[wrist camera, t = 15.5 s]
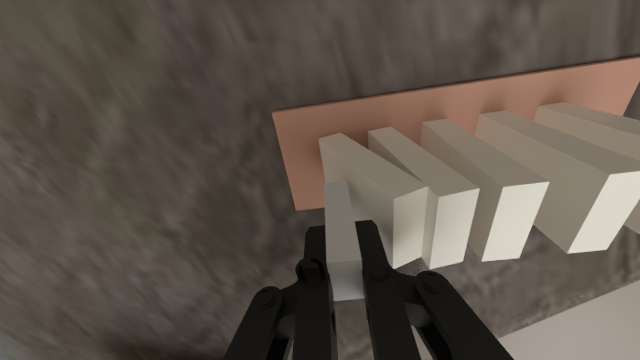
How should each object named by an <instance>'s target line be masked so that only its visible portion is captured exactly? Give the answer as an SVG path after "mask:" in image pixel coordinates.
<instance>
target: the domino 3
mask: <svg viewBox="0 0 640 360" xmlns="http://www.w3.org/2000/svg"><path fill="white" fill-rule="evenodd" d="M420 147H421V148H423V149H424V150H426V151H427V152H429V153H430V154H431V155H433V156H434V157H436V158H437V159H439V160H440V161H442V162H443V163H444V164H446V165H447V166H449V167H450V168H452V169H453V170H455V171H456V172H457V173H459V174H460V175H462V176H463V177H465V178H466V179H467V180H469V181H470V182H472V183H473V184H475V185H476V186H478V187H479V188H480V190H479V194H478V199H477V203H476V207H475V211H474V216H473V220H472V224H471V229H470V233H469V237H468V241H467V242H468V244H469V245H470V247H471V248H472V249H473V251H474V252H475V253H476V255H477V256H478V258H479V259H480V260H481V262H483V261H493V260H504V259H514V258H519V257H520V254H521V252H522V249H523V247H524V244H525V242H526V239H527V237H528V234H529V232H530V229H531V227H532V225H533V222H534V220H535V217H536V215H537V212H538V210H539V207H540V205H541V202H542V200H543V197H544V195H545V192H546V190H547V187H548V185H549V183H550V181H548V180H547V179H545V178H543V177H542V176H540V175H538V174H537V173H535V172H533V171H532V170H530V169H529V168H527V167H525V166H524V165H522V164H520V163H519V162H517V161H515V160H514V159H512V158H511V157H509V156H507V155H506V154H504V153H502V152H501V151H499V150H498V149H496V148H494V147H493V146H491V145H489V144H488V143H486V142H484V141H483V140H481V139H480V138H478V137H476V136H475V135H473V134H471V133H470V132H468V131H466V130H465V129H463V128H462V127H460V126H458V125H457V124H455V123H453V122H452V121H450V120H449V119H440V120H433V121H425V122H422V126H421V139H420Z"/></svg>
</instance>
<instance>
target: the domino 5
mask: <svg viewBox="0 0 640 360" xmlns="http://www.w3.org/2000/svg"><path fill="white" fill-rule="evenodd" d="M533 121H534V122H537V123H540V124H542V125H545V126H548V127H550V128H553V129H556V130H558V131H561V132H564V133H566V134H569V135H572V136H574V137H577V138H580V139H582V140H585V141H588V142H590V143H593V144H595V145H598V146H601V147H603V148H606V149H609V150H611V151H614V152H617V153H619V154H622V155H625V156H627V157H630V158H633V159H635V160H638V161H640V121H639V120H635V119H631V118H627V117H623V116H619V115H615V114H611V113H607V112H603V111H599V110H595V109H591V108H587V107H583V106H579V105H575V104H571V103H567V102H561V103H554V104H547V105H540V106H538V107H537V110H536V113H535V116H534V120H533ZM623 225H625V226H627V227H628V228H630V229H632V230H633V231H635V232H637V233H638V234H640V199H639V201H638V202H637V204H636V206H635V207H634V209H633V210H632V212H631V213H630V215H629V216H628V218H627V219H626V221H625V222H624V224H623Z"/></svg>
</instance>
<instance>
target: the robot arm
mask: <svg viewBox="0 0 640 360" xmlns="http://www.w3.org/2000/svg"><path fill="white" fill-rule="evenodd" d="M324 195H325V225H323V226H314V227H309V229H308V230H307V232H306V234H305V249H304V259H302V260H300V262H299V263H298V264H297V266H296V269H295V271H296V274H297V278H298V281H297V282H295V283H294V284H293V285H291V286H289V287H286V288H284V289H281V290H279V288H277V287H274V286H268V287H265V288H263V289H261V290H260V291H259V292H257V293H256V295H255V296H254V298H253V300H252V302H251V304H250V306H249V308H248V310H247V312H246V314H245V316H244V318H243V320H242V322H241V324H240V326H239V328H238V330H237V332H236V334H235V336H234V338H233V340H232V342H231V344H230V346H229V348H228V350H227V352H226V354H225V356H224V358H223V360H287V358H288V355H289V351H290V348H291V345H292V341H293V338H294V344H293V356H292V360H338V353H337V336H336V319H335V310H334V301H342V300H353V299H364V298H365V302H366V313H367V320H368V324H369V330H370V336H371V342H372V348H373V354H374V359H375V360H421V356H420V353H419V350H418V347H417V344H416V340H415V337H414V334H413V331H412V328H411V325H414V327H415V329H416V331H417V332H418V334H419V336H420V338H421V339H422V341H423V343H424V345H425V346H426V348H427V350H428V351H429V353H430V355H431V357H432V358H433V360H514V359H513V358H512V357H511V356H510V354H509V353H508V352H507V351H506V350H505V348H504V347H503V346H502V345H501V344H500V343H499V341H498V340H497V339H496V338H495V336H494V335H493V334H492V333H491V332H490V330H489V329H488V328H487V327H486V326H485V324H484V323H483V322H482V321H481V320H480V319H479V317H478V316H477V315H476V314H475V313H474V311H473V310H472V309H471V308H470V307H469V305H468V304H467V303H466V302H465V301H464V299H463V298H462V297H461V296H460V295H459V293H458V292H457V291H456V290H455V289H454V287H453V286H452V285H451V284H450V283H449V282H448V280H447V279H446V278H444V277H443V276H442V275H441V274H439V273H436V272H433V271H422V272H420V273H419V274H417V276H410V275H405V274H402V273H399V272H397V271H396V270H394V269H393V268H392V267H391V266H390V264H389V262H388V259H387V256H386V253H385V250H384V246H383V243H382V240H381V237H380V234H379V230H378V227H377V225H376V224H375V223H374V222H373V221H372V220H363V221H354V216H353V211H352V206H351V201H350V195H349V190H348V185H347V180H343V181H336V182H328V183H324Z"/></svg>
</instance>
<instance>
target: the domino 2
mask: <svg viewBox="0 0 640 360" xmlns="http://www.w3.org/2000/svg"><path fill="white" fill-rule="evenodd" d="M368 150H370V151H372V152H373V153H375V154H377V155H378V156H380V157H382V158H383V159H385V160H387V161H388V162H390V163H392V164H393V165H395V166H397V167H398V168H400V169H401V170H403V171H405V172H406V173H408V174H410V175H411V176H413V177H415V178H416V179H418V180H420V181H421V182H423V183H425V184H426V185H428V196H427V206H426V215H425V225H424V235H423V245H422V255H421V258H422V259H423V261H424V262H425V264H426V265H427V267H428V268H429V269H434V268H438V267H442V266H446V265H450V264H455V263H459V262H463V259H464V254H465V250H466V246H467V241H468V237H469V233H470V229H471V224H472V220H473V216H474V211H475V207H476V203H477V199H478V194H479V190H480V188H479V187H478V186H476V185H475V184H473V183H472V182H470V181H469V180H467V179H466V178H465V177H463V176H462V175H460V174H459V173H457V172H456V171H455V170H453V169H452V168H450V167H449V166H447V165H446V164H444V163H443V162H442V161H440V160H439V159H437V158H436V157H434V156H433V155H431V154H430V153H429V152H427V151H426V150H424V149H423V148H421V147H420V146H419V145H417V144H416V143H414V142H413V141H411V140H410V139H408V138H407V137H406V136H404V135H403V134H401V133H400V132H398V131H397V130H395V129H394V128H393V127H391V126H390V127H385V128H380V129H375V130H370V131H368Z"/></svg>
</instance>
